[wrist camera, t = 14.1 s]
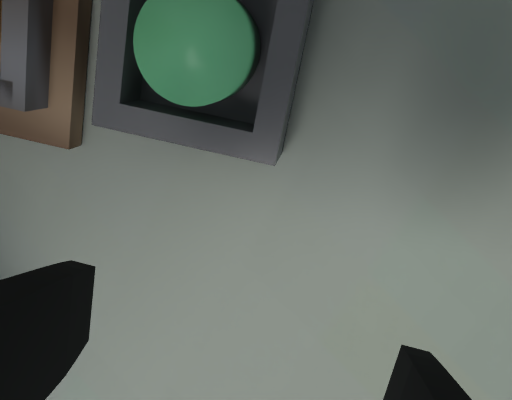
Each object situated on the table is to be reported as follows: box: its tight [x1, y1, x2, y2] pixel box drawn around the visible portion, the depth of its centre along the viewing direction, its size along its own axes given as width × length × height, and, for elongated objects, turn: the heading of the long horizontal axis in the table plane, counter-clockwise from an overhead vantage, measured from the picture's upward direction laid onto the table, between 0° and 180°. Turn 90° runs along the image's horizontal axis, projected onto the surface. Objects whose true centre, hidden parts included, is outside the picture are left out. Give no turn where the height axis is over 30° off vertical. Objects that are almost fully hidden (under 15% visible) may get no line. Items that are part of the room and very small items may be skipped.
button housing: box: [92, 0, 314, 166], centre depth 17 cm, size 7×7×2 cm
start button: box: [133, 0, 260, 107], centre depth 17 cm, size 4×4×2 cm
